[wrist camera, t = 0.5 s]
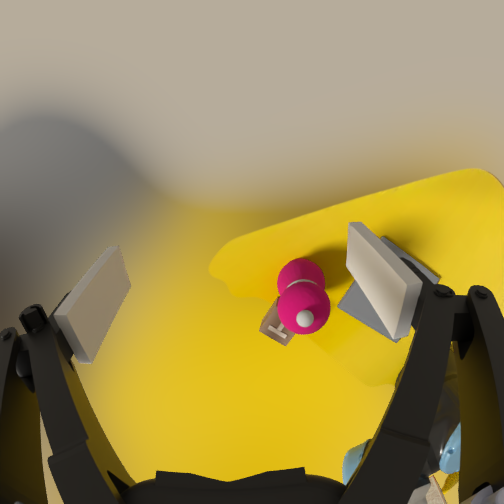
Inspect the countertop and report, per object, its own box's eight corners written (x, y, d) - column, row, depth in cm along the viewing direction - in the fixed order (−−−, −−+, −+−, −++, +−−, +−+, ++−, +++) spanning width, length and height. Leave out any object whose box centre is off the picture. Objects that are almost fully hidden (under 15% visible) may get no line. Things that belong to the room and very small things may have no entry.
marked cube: (302, 310, 48) (303, 322, 43) (286, 333, 49) (285, 346, 44) (278, 295, 48) (276, 305, 43) (262, 319, 49) (258, 331, 44)
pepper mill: (302, 246, 46) (310, 271, 27) (330, 278, 46) (355, 323, 27) (269, 274, 48) (254, 317, 28) (297, 306, 48) (300, 365, 28)
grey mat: (437, 278, 44) (439, 279, 43) (395, 341, 46) (396, 343, 45) (381, 236, 44) (383, 236, 43) (337, 305, 47) (337, 307, 46)
